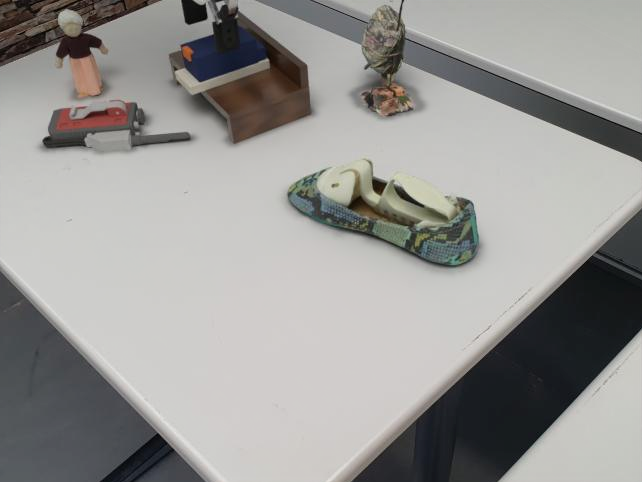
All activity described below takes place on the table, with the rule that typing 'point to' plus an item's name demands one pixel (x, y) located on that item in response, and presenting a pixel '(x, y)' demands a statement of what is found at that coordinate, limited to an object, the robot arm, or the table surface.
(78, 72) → the grandmother figurine
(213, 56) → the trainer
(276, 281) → the table surface
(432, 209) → the ballet flat
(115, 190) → the table surface
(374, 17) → the plant with pod
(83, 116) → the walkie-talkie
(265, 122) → the shoe shelf
